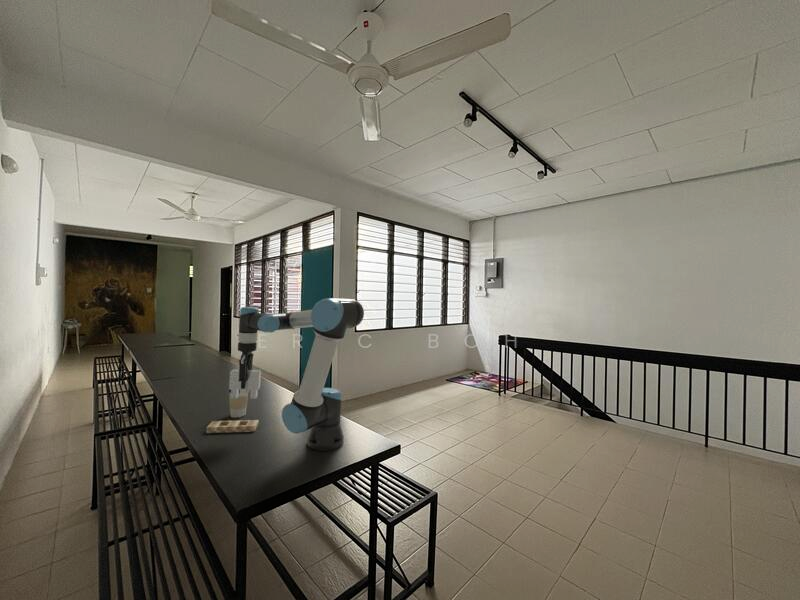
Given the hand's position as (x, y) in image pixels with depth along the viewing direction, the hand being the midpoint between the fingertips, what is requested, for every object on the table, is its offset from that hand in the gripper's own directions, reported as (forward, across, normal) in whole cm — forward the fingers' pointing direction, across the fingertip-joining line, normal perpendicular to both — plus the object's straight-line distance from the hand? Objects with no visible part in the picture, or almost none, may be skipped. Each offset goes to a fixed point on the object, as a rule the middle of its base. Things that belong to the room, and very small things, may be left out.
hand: (244, 393), depth 143 cm
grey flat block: (+2, 0, 0) cm, 2 cm away
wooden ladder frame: (+18, -4, -5) cm, 19 cm away
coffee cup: (+18, -21, -8) cm, 29 cm away
